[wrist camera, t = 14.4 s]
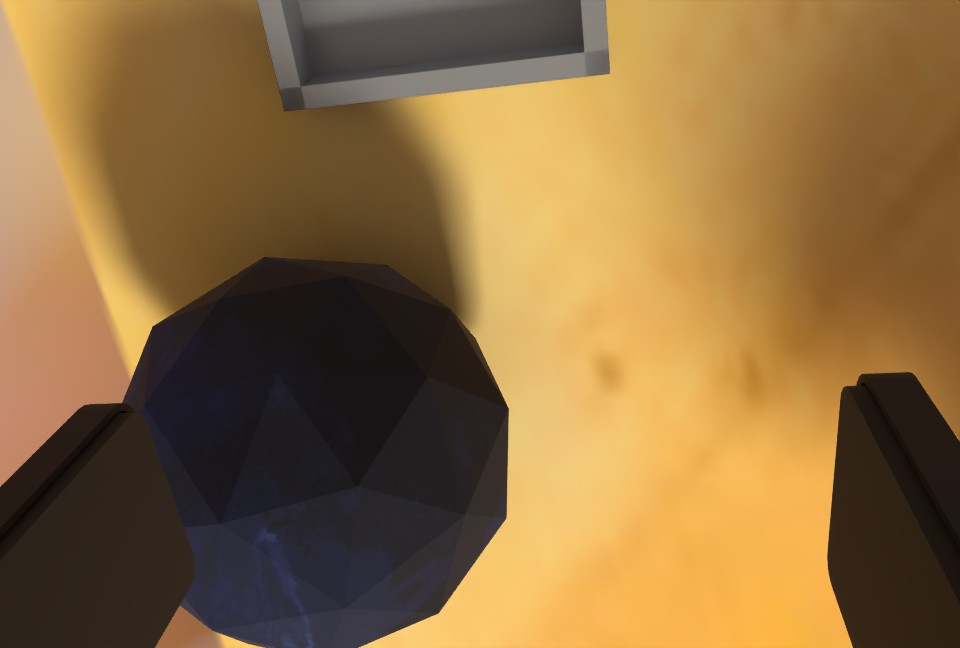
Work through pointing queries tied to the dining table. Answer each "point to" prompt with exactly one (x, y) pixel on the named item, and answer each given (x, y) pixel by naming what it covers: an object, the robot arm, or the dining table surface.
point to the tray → (427, 46)
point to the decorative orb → (324, 450)
